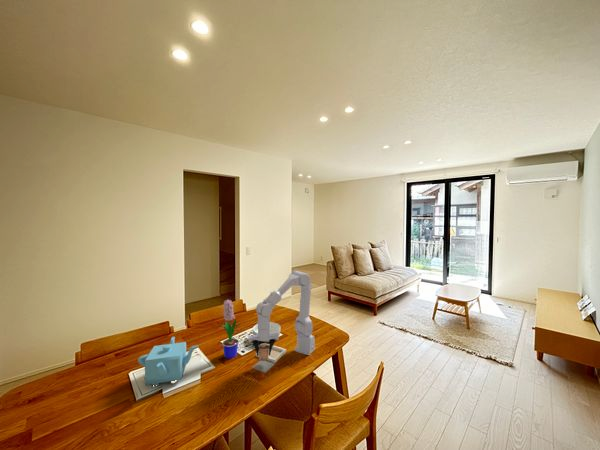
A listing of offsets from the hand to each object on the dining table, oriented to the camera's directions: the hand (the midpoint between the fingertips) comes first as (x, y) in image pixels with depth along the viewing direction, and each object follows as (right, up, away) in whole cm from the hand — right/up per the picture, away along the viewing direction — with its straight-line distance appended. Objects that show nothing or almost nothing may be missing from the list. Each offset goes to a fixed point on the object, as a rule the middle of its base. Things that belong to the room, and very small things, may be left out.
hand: (263, 354), depth 115 cm
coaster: (0, -6, 0) cm, 6 cm away
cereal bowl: (-2, -6, +27) cm, 28 cm away
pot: (0, -2, +1) cm, 2 cm away
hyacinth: (-18, -6, +9) cm, 21 cm away
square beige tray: (+2, -6, +10) cm, 12 cm away
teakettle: (-42, -6, -8) cm, 43 cm away
